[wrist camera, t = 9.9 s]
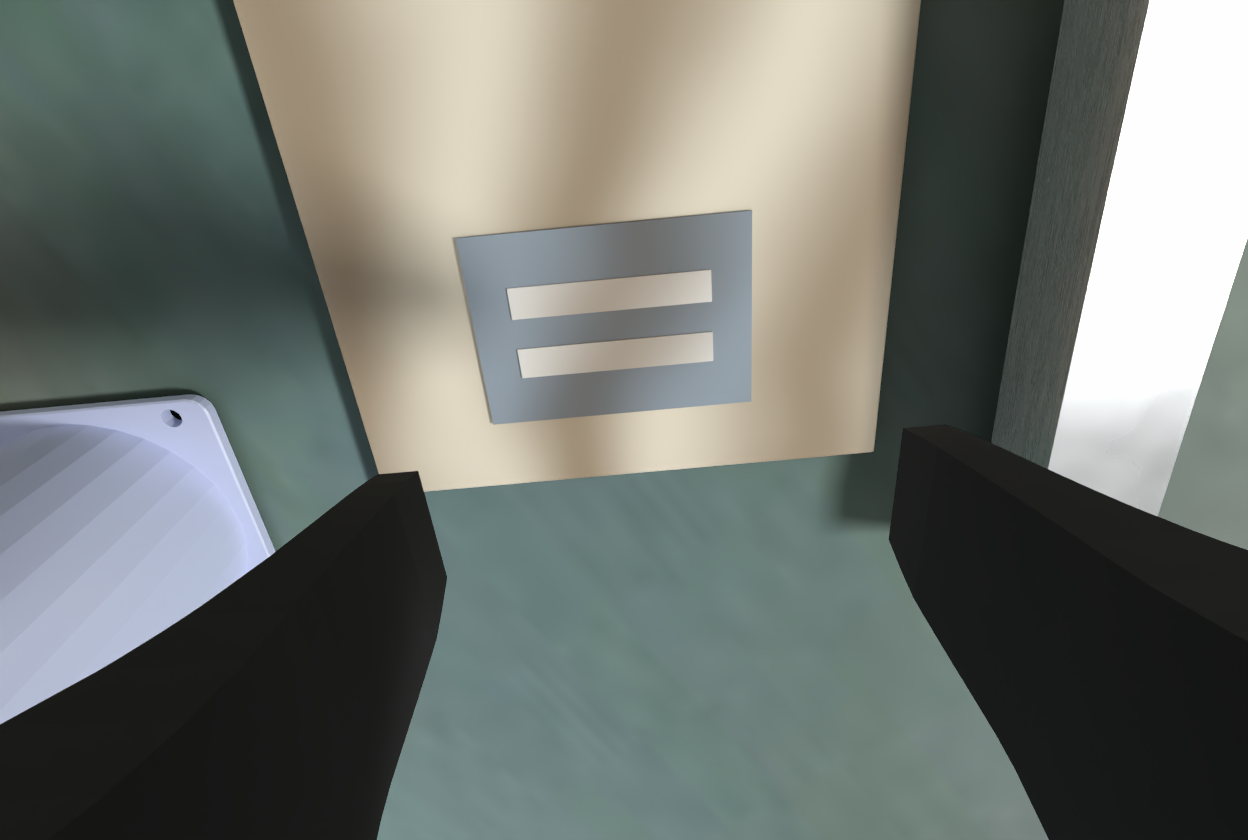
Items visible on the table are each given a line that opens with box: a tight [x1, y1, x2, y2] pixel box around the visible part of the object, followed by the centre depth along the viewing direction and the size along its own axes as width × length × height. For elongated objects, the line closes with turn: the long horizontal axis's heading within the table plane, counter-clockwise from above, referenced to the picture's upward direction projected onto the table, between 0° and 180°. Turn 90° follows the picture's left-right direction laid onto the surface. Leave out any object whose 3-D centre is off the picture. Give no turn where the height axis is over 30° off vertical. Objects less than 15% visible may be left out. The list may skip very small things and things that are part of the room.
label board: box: [233, 0, 921, 492], centre depth 14 cm, size 14×20×1 cm
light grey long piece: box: [991, 0, 1248, 516], centre depth 14 cm, size 20×3×5 cm, turn 7°
